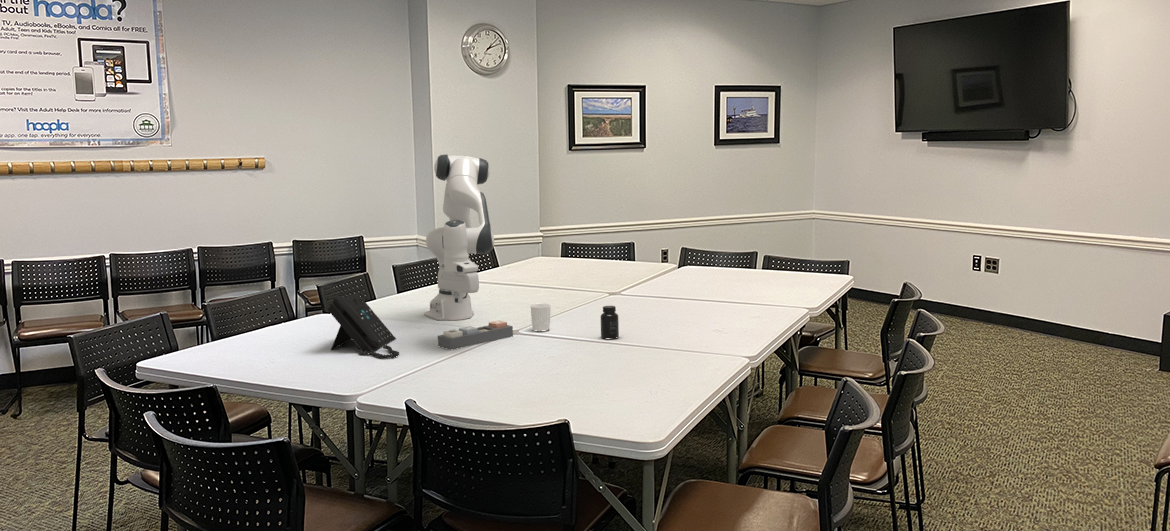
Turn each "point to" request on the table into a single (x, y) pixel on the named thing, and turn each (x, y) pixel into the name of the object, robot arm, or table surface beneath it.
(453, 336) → the key
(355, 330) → the office phone
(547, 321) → the white cup
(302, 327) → the table surface
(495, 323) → the key
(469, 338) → the dark grey holder tray
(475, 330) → the key
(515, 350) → the table surface
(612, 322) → the supplement bottle
